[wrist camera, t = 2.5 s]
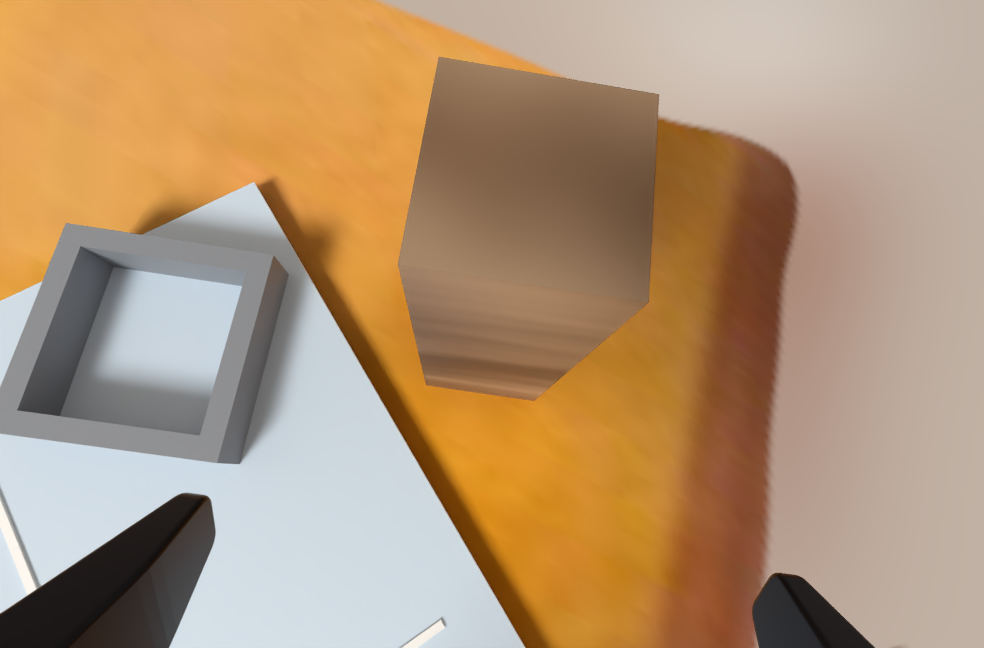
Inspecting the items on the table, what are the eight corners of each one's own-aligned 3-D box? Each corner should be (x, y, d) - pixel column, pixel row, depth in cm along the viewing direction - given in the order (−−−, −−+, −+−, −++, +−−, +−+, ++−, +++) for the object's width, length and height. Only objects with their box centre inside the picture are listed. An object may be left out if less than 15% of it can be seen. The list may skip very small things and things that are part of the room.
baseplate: (563, 712, 19) (583, 752, 16) (119, 1070, 15) (50, 1195, 13) (256, 185, 24) (232, 148, 21) (-138, 371, 20) (-228, 355, 17)
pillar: (533, 400, 22) (648, 302, 9) (426, 385, 22) (397, 264, 9) (545, 298, 23) (659, 94, 11) (443, 283, 23) (438, 56, 11)
